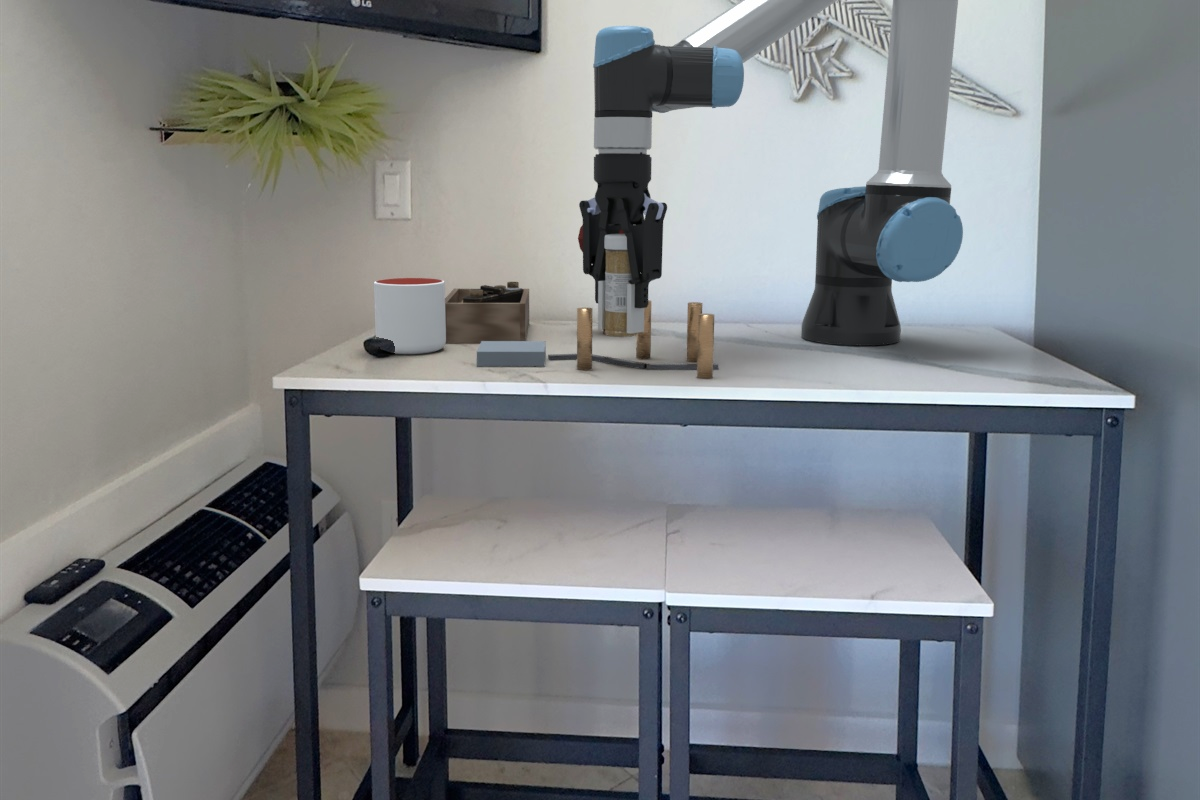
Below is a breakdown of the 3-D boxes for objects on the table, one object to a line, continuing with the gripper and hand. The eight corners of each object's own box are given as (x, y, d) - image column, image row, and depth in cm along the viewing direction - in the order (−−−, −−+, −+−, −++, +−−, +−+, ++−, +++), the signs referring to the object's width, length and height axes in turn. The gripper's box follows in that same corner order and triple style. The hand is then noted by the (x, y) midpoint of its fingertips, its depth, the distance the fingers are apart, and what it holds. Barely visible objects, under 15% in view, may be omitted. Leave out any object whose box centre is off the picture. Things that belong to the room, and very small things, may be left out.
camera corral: (529, 324, 185) (529, 288, 184) (525, 343, 165) (525, 303, 164) (454, 323, 184) (454, 288, 183) (441, 343, 164) (440, 303, 163)
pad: (545, 355, 154) (545, 341, 154) (544, 366, 146) (544, 351, 145) (481, 355, 154) (481, 341, 154) (476, 366, 145) (476, 351, 145)
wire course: (708, 356, 154) (710, 300, 152) (725, 378, 138) (727, 315, 136) (548, 356, 153) (548, 299, 151) (546, 378, 137) (546, 315, 136)
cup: (432, 357, 152) (430, 285, 150) (365, 354, 154) (362, 283, 152) (455, 346, 162) (454, 278, 160) (392, 343, 164) (389, 276, 162)
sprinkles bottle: (638, 332, 149) (640, 233, 146) (636, 337, 144) (638, 235, 142) (605, 332, 149) (606, 232, 146) (602, 337, 145) (603, 234, 142)
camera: (493, 327, 182) (492, 279, 180) (529, 329, 180) (528, 281, 178) (443, 341, 167) (442, 289, 165) (481, 344, 165) (481, 291, 163)
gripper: (693, 152, 139) (689, 334, 144) (593, 152, 150) (592, 321, 155) (656, 151, 133) (653, 340, 138) (554, 152, 145) (555, 326, 150)
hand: (620, 329), depth 147 cm, fingers closed on sprinkles bottle, 4 cm apart
